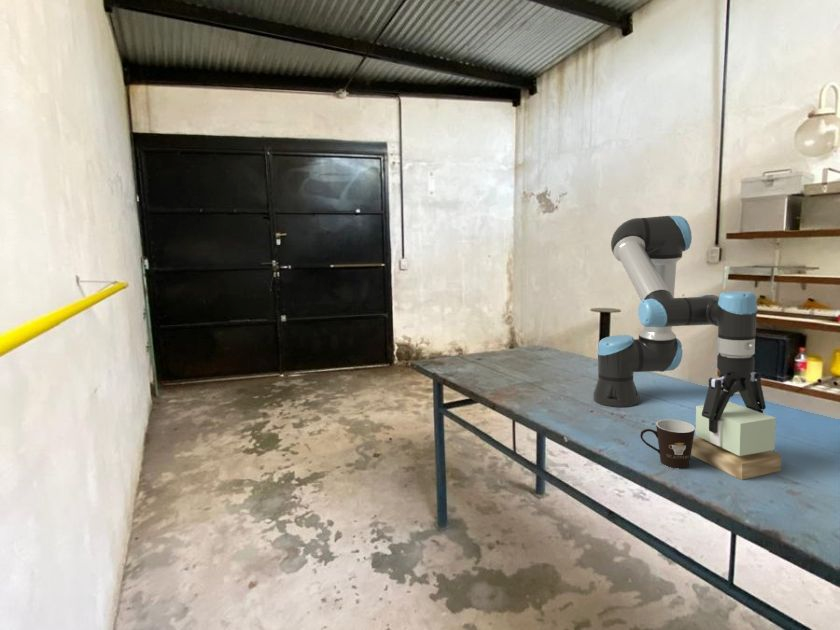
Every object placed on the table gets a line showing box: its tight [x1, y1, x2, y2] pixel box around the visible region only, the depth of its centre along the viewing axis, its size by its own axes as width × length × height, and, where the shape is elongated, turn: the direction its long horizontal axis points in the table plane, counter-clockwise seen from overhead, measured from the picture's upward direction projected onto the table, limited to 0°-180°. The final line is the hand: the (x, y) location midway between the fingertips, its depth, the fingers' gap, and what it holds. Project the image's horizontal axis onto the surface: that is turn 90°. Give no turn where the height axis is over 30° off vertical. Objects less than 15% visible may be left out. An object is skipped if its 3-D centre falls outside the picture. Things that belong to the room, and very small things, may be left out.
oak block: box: [691, 436, 782, 481], centre depth 114 cm, size 15×12×4 cm
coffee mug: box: [639, 419, 696, 470], centre depth 115 cm, size 12×9×10 cm
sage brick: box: [695, 401, 777, 456], centre depth 113 cm, size 13×10×8 cm
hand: (733, 440), depth 113 cm, fingers closed on sage brick, 10 cm apart
